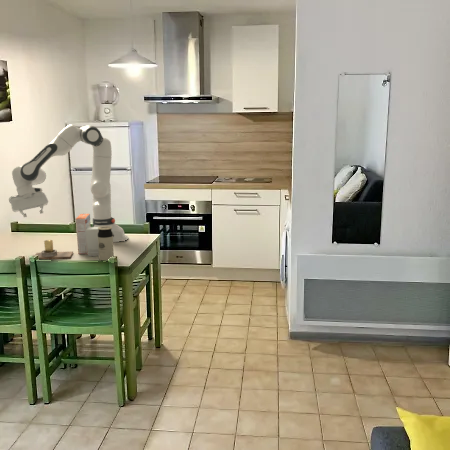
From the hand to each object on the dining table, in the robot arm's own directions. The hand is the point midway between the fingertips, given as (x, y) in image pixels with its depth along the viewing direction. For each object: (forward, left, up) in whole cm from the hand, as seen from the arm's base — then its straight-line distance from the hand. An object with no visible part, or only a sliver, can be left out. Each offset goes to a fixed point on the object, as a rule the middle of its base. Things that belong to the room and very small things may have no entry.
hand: (33, 215), depth 299 cm
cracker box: (-29, +6, -21) cm, 36 cm away
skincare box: (-36, +15, -21) cm, 44 cm away
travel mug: (-43, +26, -21) cm, 54 cm away
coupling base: (-13, +17, -21) cm, 29 cm away
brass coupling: (-11, +17, -20) cm, 28 cm away
